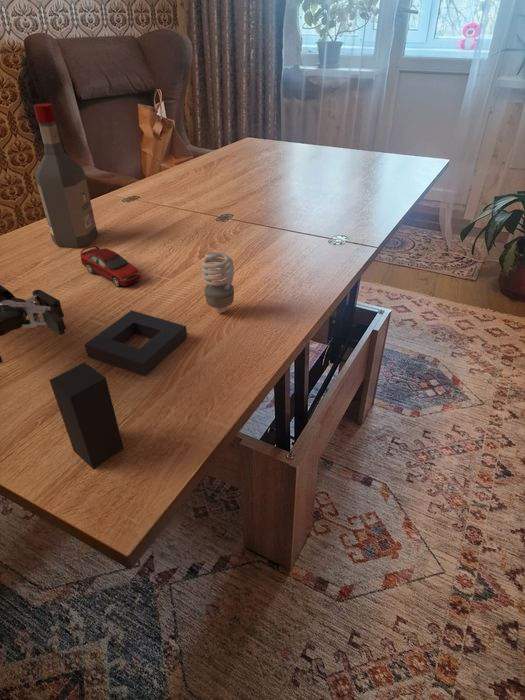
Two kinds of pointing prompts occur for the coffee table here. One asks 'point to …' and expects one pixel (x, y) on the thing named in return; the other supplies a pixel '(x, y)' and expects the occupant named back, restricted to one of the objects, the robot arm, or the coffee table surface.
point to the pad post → (88, 413)
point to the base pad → (130, 358)
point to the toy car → (110, 266)
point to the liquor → (63, 188)
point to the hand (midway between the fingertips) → (31, 342)
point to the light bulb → (218, 291)
